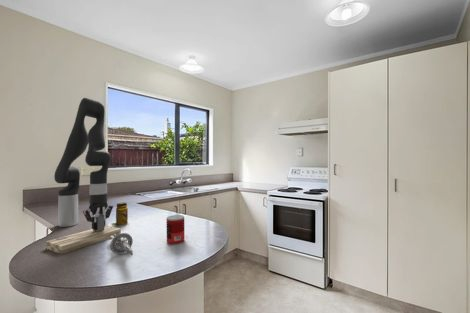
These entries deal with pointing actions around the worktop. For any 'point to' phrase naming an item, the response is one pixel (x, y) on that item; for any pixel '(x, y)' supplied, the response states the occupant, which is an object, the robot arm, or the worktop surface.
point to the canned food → (175, 229)
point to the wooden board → (80, 239)
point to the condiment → (121, 215)
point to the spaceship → (121, 243)
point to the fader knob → (100, 223)
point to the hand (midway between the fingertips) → (98, 228)
